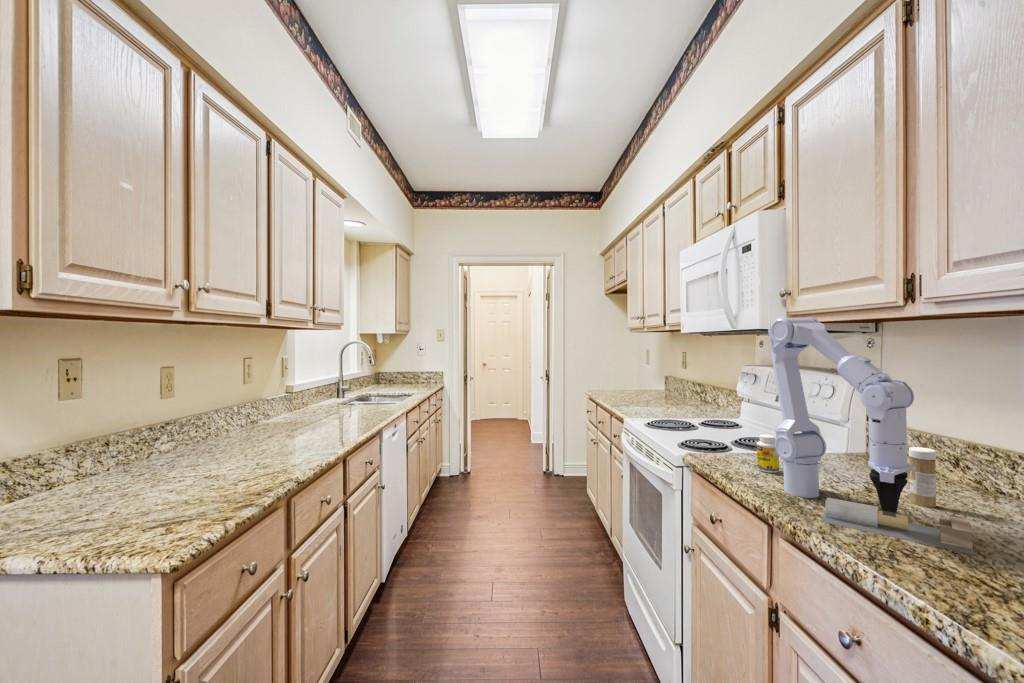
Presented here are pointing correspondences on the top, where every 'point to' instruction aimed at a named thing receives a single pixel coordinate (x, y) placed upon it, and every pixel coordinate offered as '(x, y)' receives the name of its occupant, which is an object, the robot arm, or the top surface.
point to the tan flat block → (892, 519)
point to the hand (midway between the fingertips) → (889, 509)
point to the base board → (902, 533)
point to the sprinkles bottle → (923, 477)
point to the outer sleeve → (852, 512)
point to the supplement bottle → (767, 454)
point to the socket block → (956, 532)
